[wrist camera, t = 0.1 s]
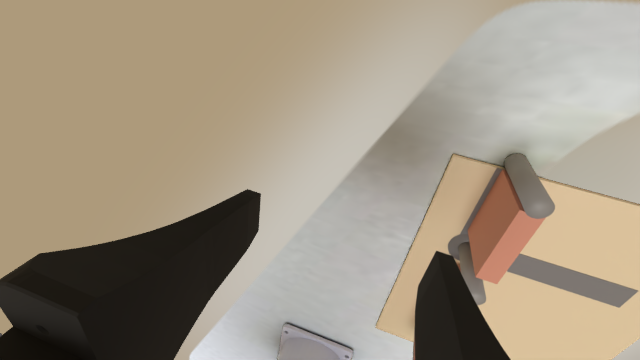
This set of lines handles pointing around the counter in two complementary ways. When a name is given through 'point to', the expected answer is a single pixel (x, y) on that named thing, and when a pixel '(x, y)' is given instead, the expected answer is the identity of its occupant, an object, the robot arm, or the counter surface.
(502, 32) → the counter surface
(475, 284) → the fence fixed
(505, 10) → the counter surface
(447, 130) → the counter surface
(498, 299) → the card
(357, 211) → the counter surface
